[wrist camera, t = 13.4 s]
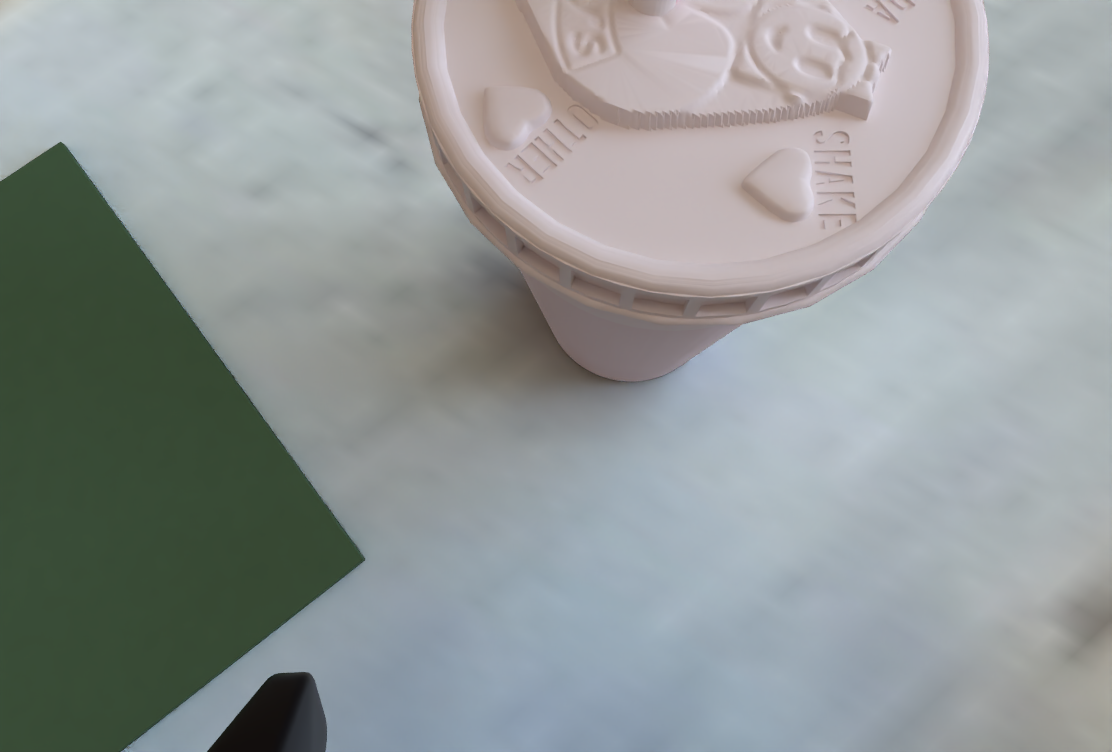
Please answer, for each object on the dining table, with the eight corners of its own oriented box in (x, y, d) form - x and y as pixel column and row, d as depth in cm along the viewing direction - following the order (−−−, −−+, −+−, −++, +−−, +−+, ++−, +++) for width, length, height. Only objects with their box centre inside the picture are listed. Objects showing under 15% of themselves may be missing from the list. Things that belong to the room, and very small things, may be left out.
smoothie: (550, 128, 19) (523, -922, 6) (814, 225, 19) (1482, -686, 5) (438, 377, 18) (54, -215, 4) (717, 490, 17) (1274, 209, 4)
